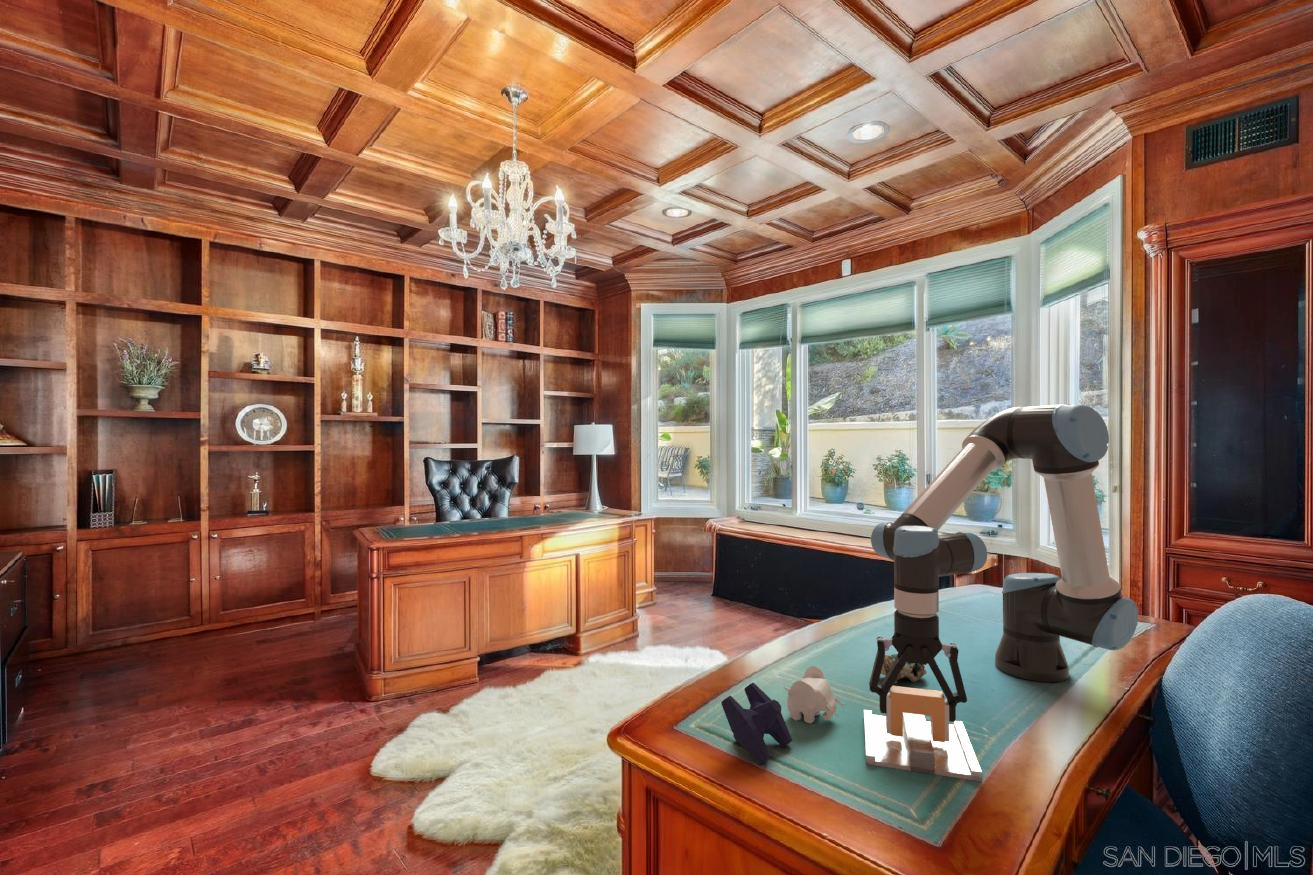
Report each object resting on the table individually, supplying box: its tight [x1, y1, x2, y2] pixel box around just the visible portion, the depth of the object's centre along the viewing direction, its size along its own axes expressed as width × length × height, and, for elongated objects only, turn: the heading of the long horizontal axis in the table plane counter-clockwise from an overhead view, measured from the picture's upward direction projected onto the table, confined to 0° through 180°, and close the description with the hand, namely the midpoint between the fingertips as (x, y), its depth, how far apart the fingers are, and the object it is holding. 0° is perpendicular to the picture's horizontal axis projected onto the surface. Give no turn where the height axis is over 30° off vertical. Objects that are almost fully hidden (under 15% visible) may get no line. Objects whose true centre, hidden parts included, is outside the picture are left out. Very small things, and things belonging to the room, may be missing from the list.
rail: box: [863, 709, 983, 782], centre depth 110 cm, size 18×18×4 cm
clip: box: [889, 685, 946, 743], centre depth 111 cm, size 9×3×8 cm, turn 72°
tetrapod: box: [720, 682, 793, 765], centre depth 110 cm, size 11×12×11 cm
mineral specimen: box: [880, 653, 928, 685], centre depth 141 cm, size 12×9×8 cm
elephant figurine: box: [782, 665, 845, 724], centre depth 122 cm, size 10×12×9 cm
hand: (916, 733), depth 110 cm, fingers closed on clip, 9 cm apart
